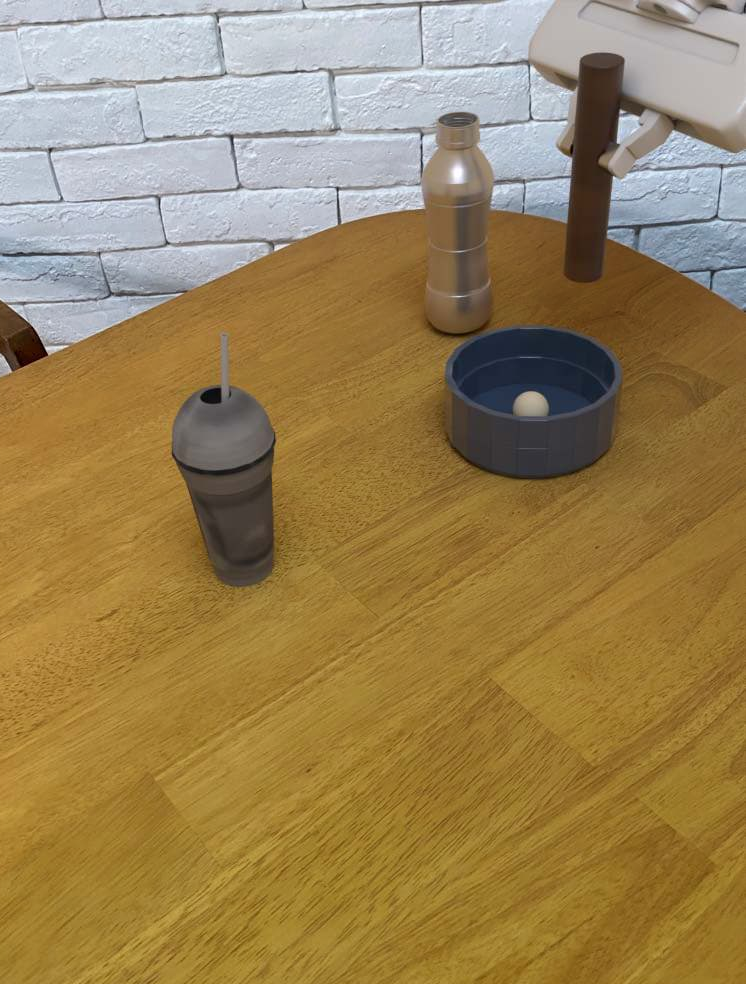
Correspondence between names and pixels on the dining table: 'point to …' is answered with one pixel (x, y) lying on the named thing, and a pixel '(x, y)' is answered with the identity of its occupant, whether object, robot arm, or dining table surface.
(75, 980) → the dining table surface
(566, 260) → the stick
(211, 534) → the beverage cup
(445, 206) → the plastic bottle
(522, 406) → the dough ball
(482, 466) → the bowl
